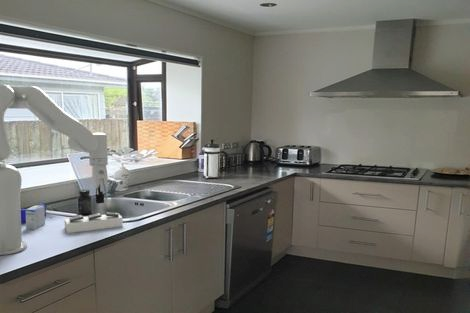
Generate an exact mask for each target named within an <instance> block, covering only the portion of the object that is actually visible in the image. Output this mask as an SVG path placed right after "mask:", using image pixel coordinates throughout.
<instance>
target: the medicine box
mask: <svg viewBox="0 0 470 313" xmlns="http://www.w3.org/2000/svg"><path fill="white" fill-rule="evenodd" d="M45 218H46V216H45V206H41V205H33V206H31V207H29V208H26V223H25V229H26V230H37V229H39V228H40V227H41V226H44V225H45V224H46V219H45Z"/></svg>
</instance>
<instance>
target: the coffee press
mask: <svg viewBox="0 0 470 313" xmlns="http://www.w3.org/2000/svg"><path fill="white" fill-rule="evenodd" d="M214 141H215V140H214V139H210V142H206V143H204V145H203V147H202V149H201V150H202V151H203V175H202V177H203V178H205V180H209V178H217V179H218V180H220V179H221V177H220V173H222V172H225V171H226V170H227V169H228V162H229V155H228V153H227V151H224V150H221V145H220V144H219V143H218V142H214ZM221 154H223V155H224V158H225V159H224V161H225V162H224V168H222V169H220V168H221V167H220V166H221V164H220V160H221V159H220V158H221V156H220V155H221Z"/></svg>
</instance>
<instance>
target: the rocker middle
mask: <svg viewBox="0 0 470 313" xmlns="http://www.w3.org/2000/svg"><path fill="white" fill-rule="evenodd" d="M101 215H102V214H101V212H98V213H94V214H91V215H87V216H88V219H89V220H91V219H95V218H99V217H102V216H101Z"/></svg>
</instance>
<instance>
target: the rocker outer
mask: <svg viewBox="0 0 470 313" xmlns="http://www.w3.org/2000/svg"><path fill="white" fill-rule="evenodd" d="M104 215H106V216H112V217H119V215H120V213H119V212H111V211H110V212H108V211H107V212H105V214H104Z"/></svg>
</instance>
